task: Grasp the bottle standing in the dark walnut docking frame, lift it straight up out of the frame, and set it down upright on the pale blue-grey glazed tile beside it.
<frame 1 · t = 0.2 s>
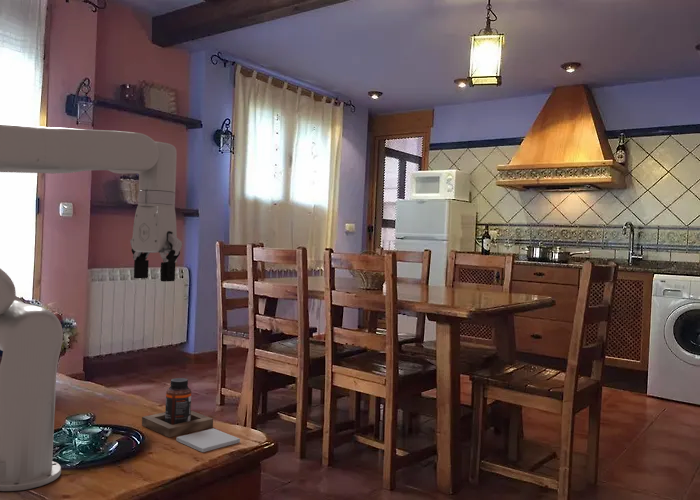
hand: (153, 279, 126), 36 cm above the table, tool pointing down, fingers open, 9 cm apart
walnut dock: (177, 426, 141), on the table
glazed tile: (208, 441, 132), on the table
supplement bottle: (177, 427, 141), resting in walnut dock
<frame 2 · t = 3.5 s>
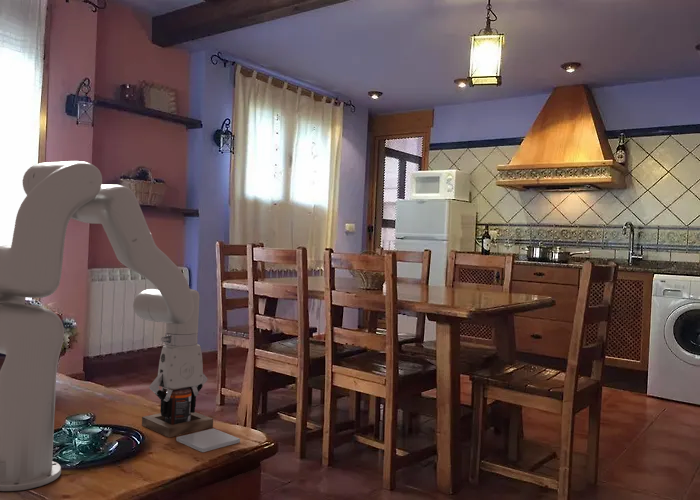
hand: (178, 413, 141), 3 cm above the table, tool pointing down, fingers closed on supplement bottle, 6 cm apart
supplement bottle: (177, 426, 141), resting in walnut dock, touching gripper
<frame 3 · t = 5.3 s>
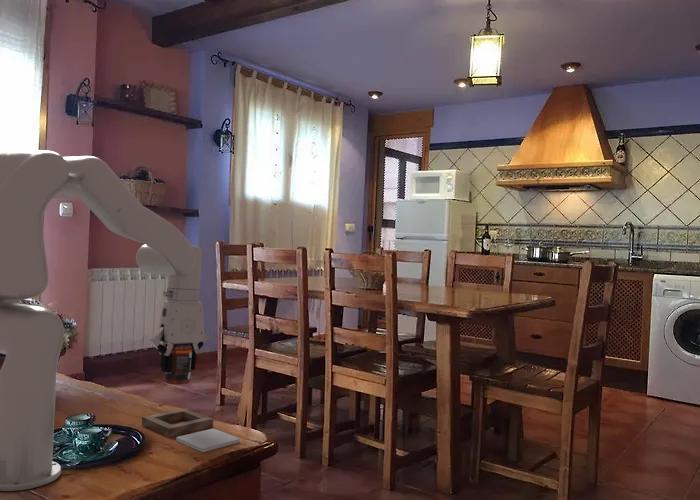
hand: (178, 369, 141), 14 cm above the table, tool pointing down, fingers closed on supplement bottle, 6 cm apart
supplement bottle: (177, 383, 141), point 10 cm above the table, touching gripper
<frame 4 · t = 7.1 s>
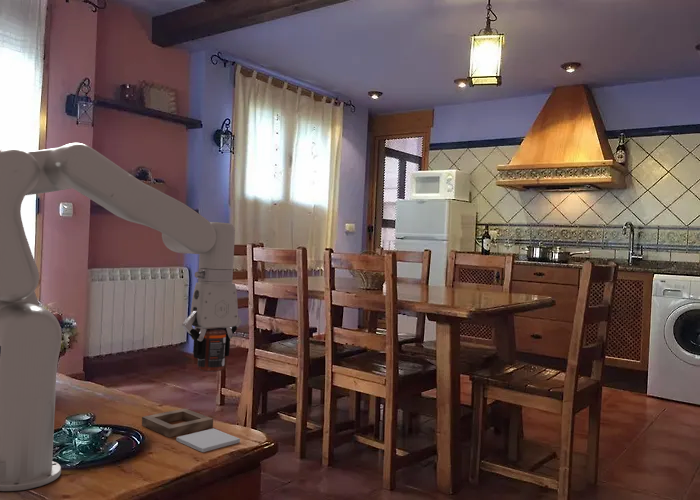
hand: (211, 355, 132), 19 cm above the table, tool pointing down, fingers closed on supplement bottle, 6 cm apart
supplement bottle: (210, 370, 132), point 16 cm above the table, touching gripper
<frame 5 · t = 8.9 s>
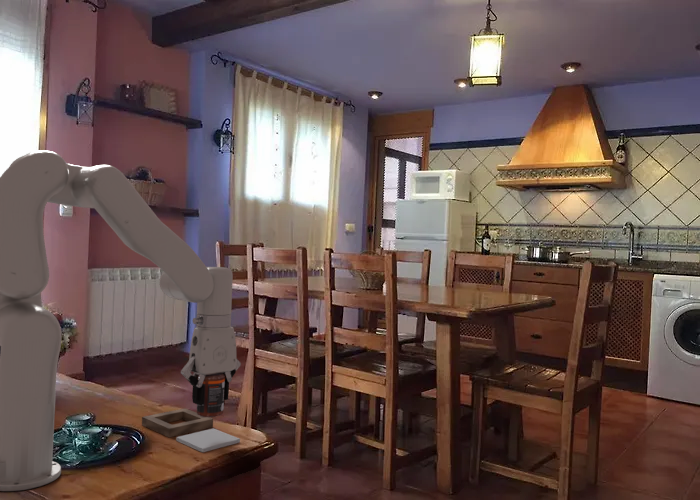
hand: (210, 400, 132), 9 cm above the table, tool pointing down, fingers closed on supplement bottle, 6 cm apart
supplement bottle: (210, 415, 132), point 6 cm above the table, touching gripper
when the fingers open (5 cm above the table, at t = 10.7 s): supplement bottle stays where it is, resting on glazed tile.
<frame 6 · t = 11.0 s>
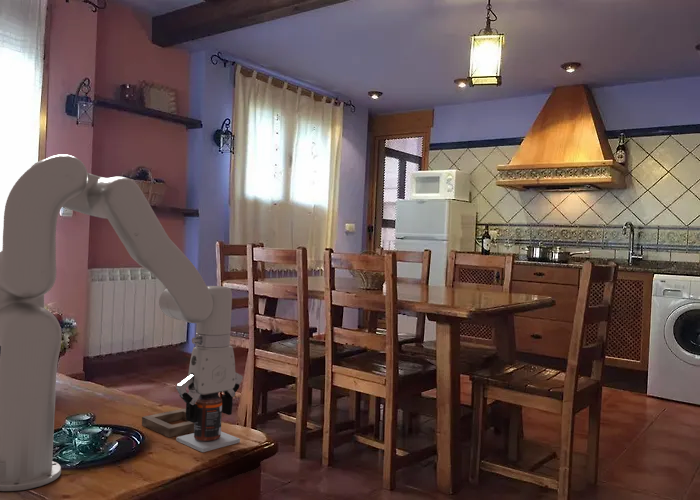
hand: (209, 417, 132), 6 cm above the table, tool pointing down, fingers open, 9 cm apart
supplement bottle: (207, 439, 131), point 1 cm above the table, touching glazed tile
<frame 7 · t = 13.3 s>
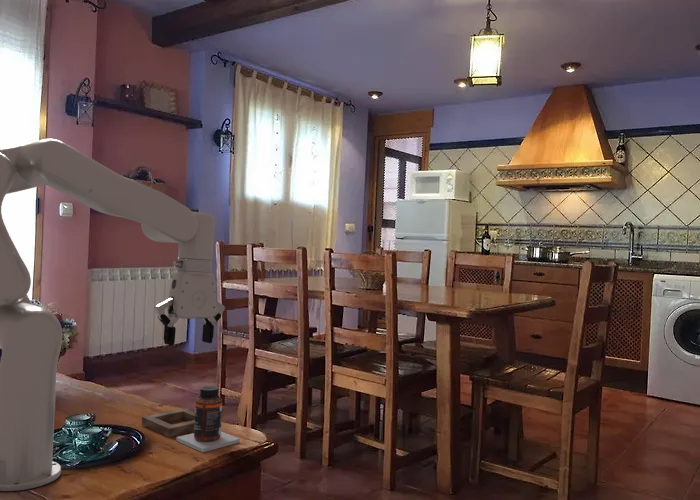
hand: (188, 343, 131), 22 cm above the table, tool pointing down, fingers open, 9 cm apart
nothing on the table moved.
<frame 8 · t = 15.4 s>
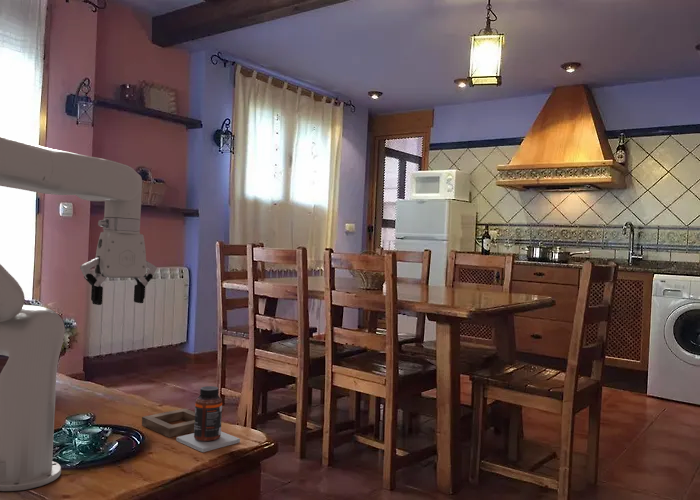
hand: (118, 303, 130), 30 cm above the table, tool pointing down, fingers open, 9 cm apart
nothing on the table moved.
at the end: supplement bottle 0.3 cm off-centre on the glazed tile, point 0.6 cm above the glazed tile's base; supplement bottle tilted 0°; the gripper is holding nothing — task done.
